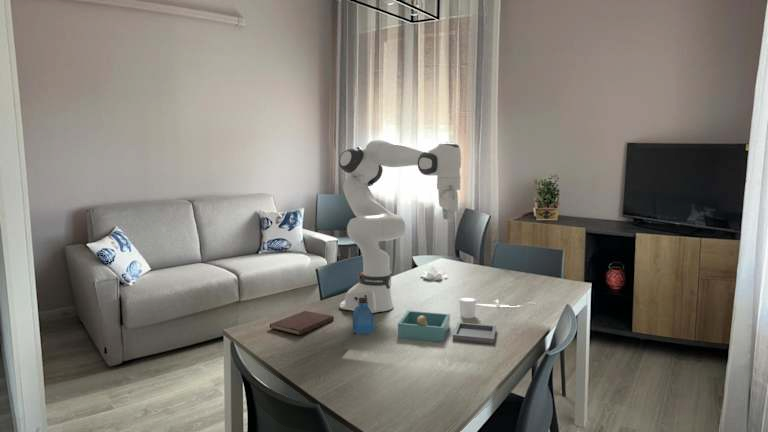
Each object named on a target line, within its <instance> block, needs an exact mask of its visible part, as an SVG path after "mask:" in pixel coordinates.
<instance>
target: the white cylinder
mask: <svg viewBox="0 0 768 432" xmlns="http://www.w3.org/2000/svg"><path fill="white" fill-rule="evenodd" d="M477 300H478V299H476V298H475V297H472V296H471V297H470V296H463V297H459V298H458V301H459V315H460V317H461V318H464V319H474V318H475V317H476V316H475V315H476V308H477V305H476V304H477Z"/></svg>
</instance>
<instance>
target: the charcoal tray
mask: <svg viewBox="0 0 768 432" xmlns="http://www.w3.org/2000/svg"><path fill="white" fill-rule="evenodd" d="M496 332H497V325H492V324H491V325H490V324H481V323H470V322H457V323H456V326H455V328H454V331H453V333H452V341H456V342H466V343H473V344H474V343H475V344H485V345H495V339H496Z"/></svg>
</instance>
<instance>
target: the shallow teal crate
mask: <svg viewBox="0 0 768 432" xmlns="http://www.w3.org/2000/svg"><path fill="white" fill-rule="evenodd" d="M421 315H422V316H425V317H426V320H427V324H428V326H427V325H418V322H417V318H418V317H419V316H421ZM450 315H451V314H450V313H439V312H429V311H427V312H426V311H417V310H416V311H415V310H407V311H406V313H405V314H404V315H403V317H402V318H401V319H400V320H399V322H398V324H397V338H400V339H408V340H410V339H411V340H419V341H428V342H429V341H430V342H431V341H432V342H437V343H438V342H440V343H443V342H444V341H445V339H446V336H447V334H448V331H449V329H450V323H451V322H450V319H451V318H450V317H451V316H450Z"/></svg>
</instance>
